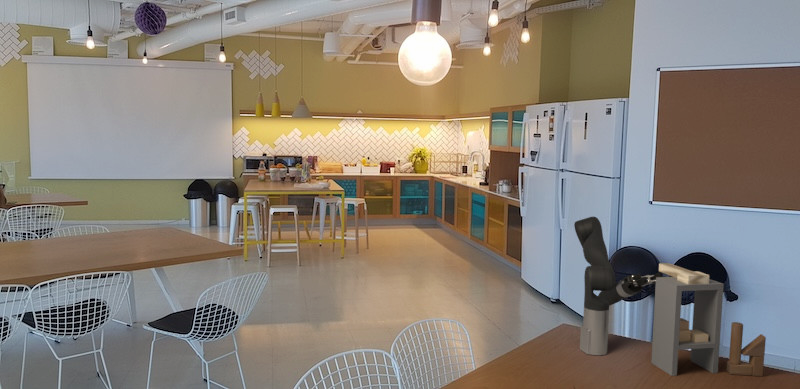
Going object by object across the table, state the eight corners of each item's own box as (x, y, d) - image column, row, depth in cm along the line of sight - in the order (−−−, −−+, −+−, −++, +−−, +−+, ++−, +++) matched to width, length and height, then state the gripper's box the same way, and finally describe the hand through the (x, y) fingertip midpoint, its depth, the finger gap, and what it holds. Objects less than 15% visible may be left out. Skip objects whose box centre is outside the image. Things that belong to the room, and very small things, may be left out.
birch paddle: (688, 284, 206) (688, 275, 206) (653, 271, 226) (654, 263, 226) (708, 283, 208) (709, 275, 208) (672, 270, 227) (673, 263, 227)
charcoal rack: (671, 375, 208) (676, 285, 205) (651, 362, 219) (656, 277, 216) (717, 372, 211) (723, 283, 208) (695, 360, 223) (700, 275, 219)
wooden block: (763, 376, 208) (766, 326, 206) (730, 374, 209) (733, 324, 208) (758, 372, 212) (762, 323, 210) (726, 370, 213) (729, 321, 211)
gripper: (611, 278, 250) (631, 266, 235) (642, 277, 252) (664, 265, 238) (615, 295, 247) (636, 285, 232) (647, 294, 249) (669, 283, 235)
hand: (650, 275), depth 235 cm, fingers open, 8 cm apart
